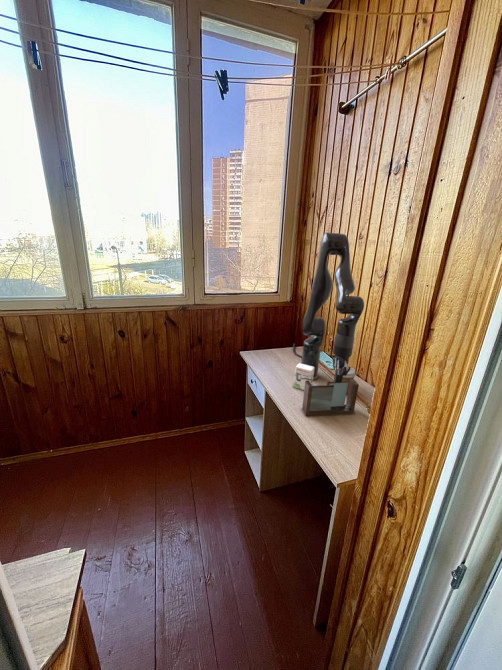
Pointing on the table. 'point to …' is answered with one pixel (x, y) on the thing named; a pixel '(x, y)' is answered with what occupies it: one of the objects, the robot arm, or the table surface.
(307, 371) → the ink box
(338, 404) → the sliding pane
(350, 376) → the disposable coffee cup
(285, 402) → the table surface
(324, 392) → the window frame
